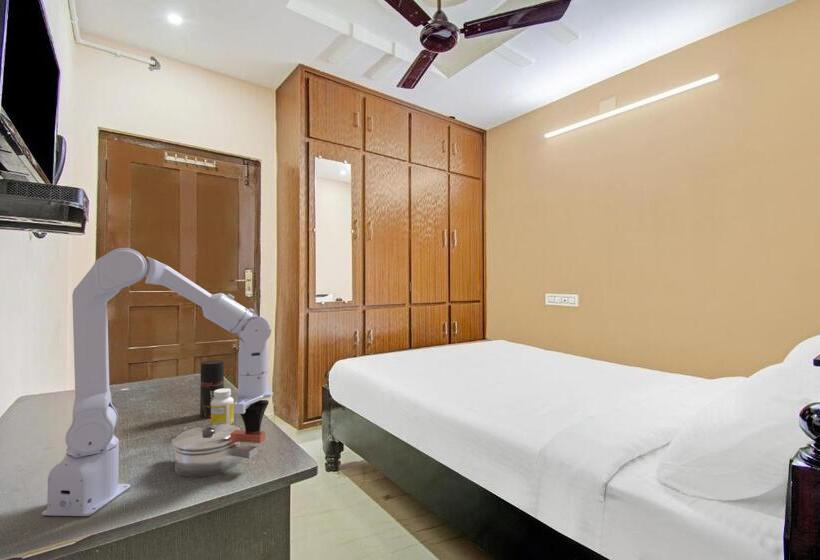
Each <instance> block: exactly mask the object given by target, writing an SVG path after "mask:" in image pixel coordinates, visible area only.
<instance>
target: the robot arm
mask: <svg viewBox="0 0 820 560" xmlns="http://www.w3.org/2000/svg"><path fill="white" fill-rule="evenodd" d="M144 278H146V279H145V281H144V283H145V284H148V285H156V286H164V287H165V288H167V289H170V290H171V291H172V292H175V293H176V294H178V295H180V296H182V297H183V298H185V299H187V300H188V301H190V302H193V303H194V304H196V305H198V306H199V307H200V308H201V309H202V313H203V318H205V319H207V320H209V321H210V322H212V323H214V324H216V325H218V326H219V327H220V328H223V329H224V330H226V331H228V332H229V333H231V334H236V335H237V337H238V338H239V341H238V345H239V346H238V347H239V348H238V351H237V353H238V355H237V357H238V359H237V360H238V361H237V362H238V365H237V366H238V369H237V371H238V372H237V373H238V374H237V375H238V376H237V377H238V379H237V386H238V387H237V389H238V390H237V392H238V393H237V394H236V400H235V401H234V404H233V414H234V415H240V417H241V418H242V420H243V424H244V430H247V431H261V427H262V426H261V425H262V421H263V419H264V414H265V412H266V410H267V408H268V405H269V404H270V403H269V401H270V400H268V399H269V398H272V397H273V396H274V392H273V391H270V383H269V384H268V357H269V356H268V354H269V351H268V340H269V338H270V337H271V332H272V329H271V328H270V324H269V322H268V321H267V320H266V319H265V318H263V317H262V316H259V315H258V314H256V313H255V309H253V308H252V307H249V308H247V307H245V306H243V305H242V304H241V303H238V301H236V300H235V298H236V297H235V296H234V295H232V294H231V293H227V294H225V293H223V292H219V293H214V294H212V293H210V292H208V291H207V290H206V289H204V288H202V287H201V286H200V285H198V284H196V283H195V282H194V281H192V280H191V279H189V278H187V277H185V276H184V275H182V274H181V273H180V272H178V271H176V270H175V269H173V268H172V267H171V266H169V265H167V264H165V263H162V262H160V261H158V260H156V259H154V258H152V257H149V256H146V258H145V257H144V255H142V254H141V253H140V252H139V251H138V250H135V249H133V248H130V247H120V248H116V249H112V250H111V251H109V252H107V253H105V255H102V256H101V257H99V258H97V259H96V260H95V262H94V263H93V265H92V266H91V268H90V269H89V270H88V272H87V273H86V274H85V275H84V277H83V278H82V279H81V281H80V282H79V283H78V284H77V285H76V286H75V288H74V289H73V292H72V295H71V296H72V300H71V301H72V328H73V329H72V330H73V331H72V332H73V333H72V334H73V359H74V362H73V363H74V365H73V368H74V370H73V371H74V394H75V395H74V403H73V406H72V413H71V414H72V415H71V416H72V421H71V424H70V426H69V428H68V429H67V431H66V434H65V438H64V439H65V445H66V446H67V448H66V451H65V455H64V457H63V458H62V460H60V461H59V462H58V463H57V464H56V465H55V466H53V468H52V469H51V470H50V471H49V473H48V476H47V501H46V502H47V504H46V505H47V509H45V510H43V511H42V512H41V514H42V516H53V517H54V516H59V517H60V516H62V517H63V516H64V517H69V516H70V517H90V516H92V515H93V514H95V513H96V512H98V511H99V510H100V509H102V508H103V507H104V506H106V505H107V504H109V503H110V502H112V501H114V499H116V498H117V497H118V496H120V495H122V494H123V493H124V492H126V491H127V490H128V489H130V488H131V483H119V457H120V455H119V453H120V440H119V438H118V437H117V436H116V435H115V433H114V432H115V428H116V427H115V426H116V425H117V424H118V420H119V414H118V411H117V409H116V408H115V406H114V405H113V403H112V402H113V401H112V393H111V389H110V359H109V358H110V357H109V356H110V355H109V353H110V352H109V328H108V327H109V324H108V302H109V301H110V300H111V299H113V297H116V295H117V294H119V293H120V292H121V291H122V290H123V289H124V288H127V287H129V286H132V285H134V284H137V283H139V282H141V281H142V280H143V279H144Z"/></svg>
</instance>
